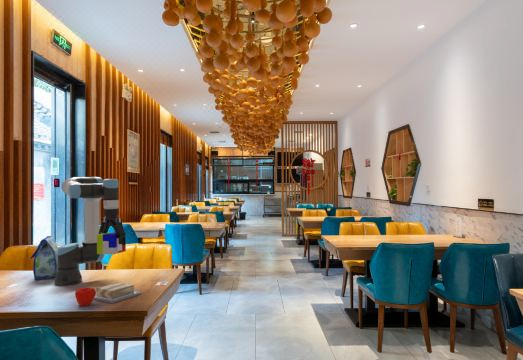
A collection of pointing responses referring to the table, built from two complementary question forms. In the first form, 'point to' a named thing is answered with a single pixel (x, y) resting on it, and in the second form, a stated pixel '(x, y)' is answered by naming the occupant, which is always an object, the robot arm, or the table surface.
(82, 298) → the apple
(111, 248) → the puzzle toy
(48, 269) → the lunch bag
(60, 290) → the table surface
